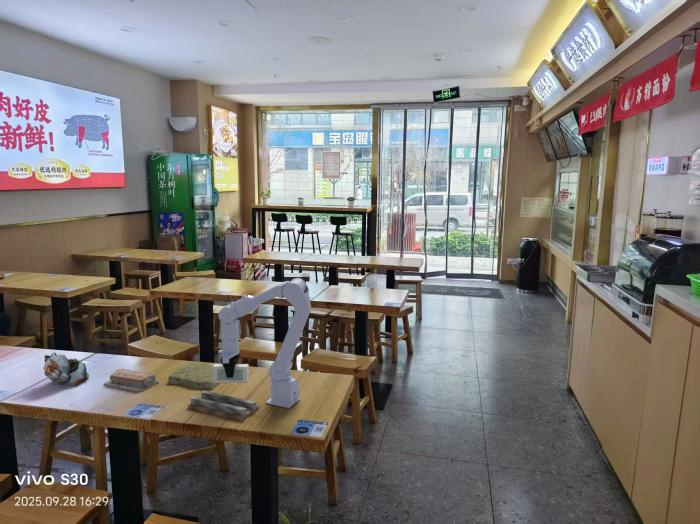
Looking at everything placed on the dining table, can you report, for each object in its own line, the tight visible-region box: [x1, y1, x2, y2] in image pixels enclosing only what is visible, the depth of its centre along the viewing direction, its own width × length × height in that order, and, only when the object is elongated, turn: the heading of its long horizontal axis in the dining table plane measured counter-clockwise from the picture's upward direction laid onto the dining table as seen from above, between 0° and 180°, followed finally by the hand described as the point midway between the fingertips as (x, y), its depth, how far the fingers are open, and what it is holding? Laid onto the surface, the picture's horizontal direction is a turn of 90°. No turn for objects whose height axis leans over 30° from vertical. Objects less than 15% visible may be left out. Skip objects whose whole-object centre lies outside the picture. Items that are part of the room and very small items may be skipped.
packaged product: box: [103, 368, 160, 393], centre depth 181 cm, size 18×5×10 cm
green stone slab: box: [167, 361, 221, 390], centre depth 187 cm, size 19×20×4 cm
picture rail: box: [187, 390, 260, 422], centre depth 161 cm, size 22×10×3 cm, turn 67°
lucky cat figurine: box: [43, 352, 90, 386], centre depth 180 cm, size 15×12×14 cm
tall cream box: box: [213, 363, 250, 384], centre depth 168 cm, size 12×3×6 cm, turn 91°
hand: (231, 375), depth 168 cm, fingers closed on tall cream box, 3 cm apart
